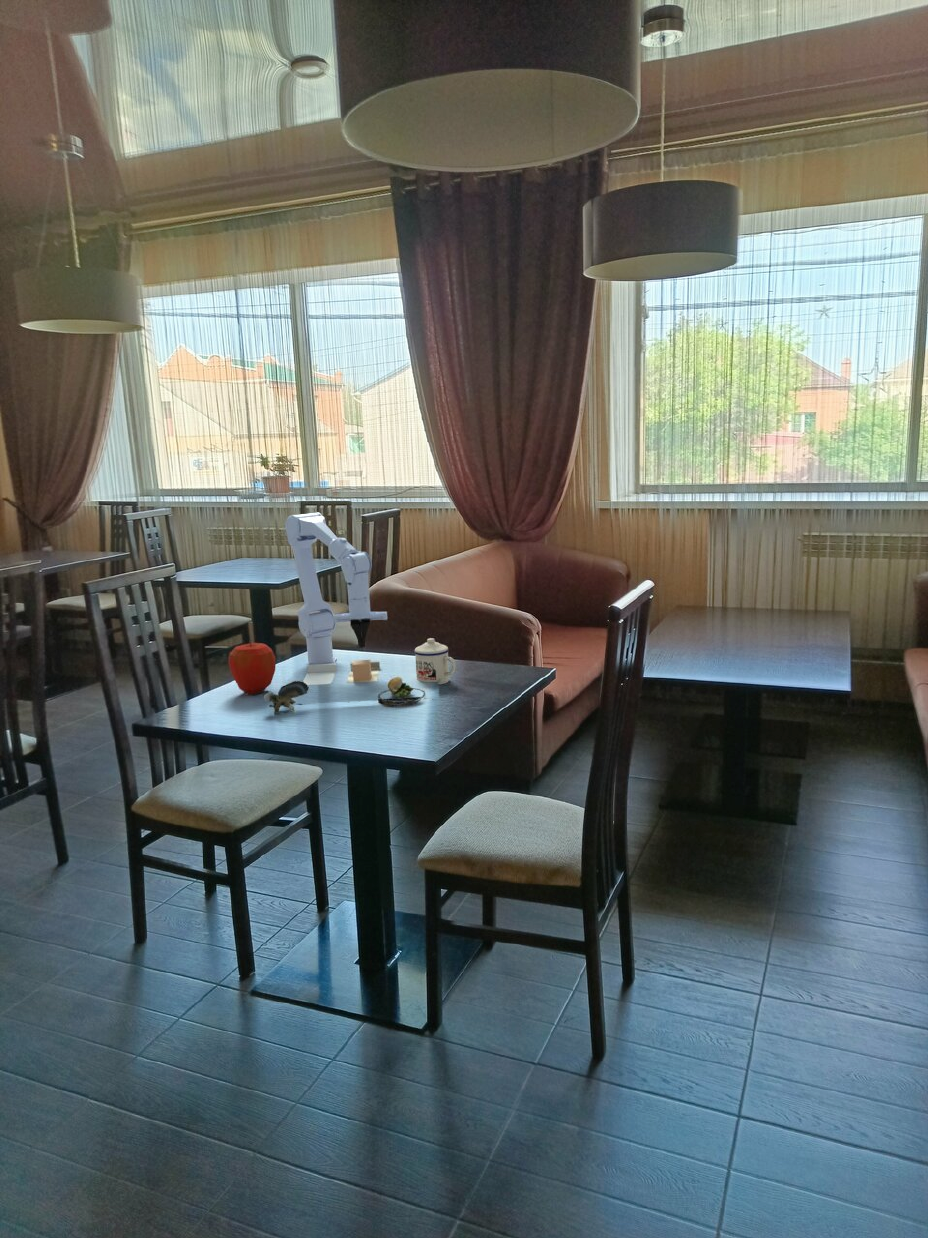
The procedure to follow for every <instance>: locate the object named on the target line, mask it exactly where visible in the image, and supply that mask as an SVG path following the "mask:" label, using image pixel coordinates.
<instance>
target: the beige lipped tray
mask: <svg viewBox="0 0 928 1238" xmlns="http://www.w3.org/2000/svg"><path fill="white" fill-rule="evenodd" d="M352 664H353V661H352V662H350V663H349V665H350V666H349V667H350V672H349V674H348V678H347V681H346V684H353V683H354V684H355V683H356V684H357V683H371V682H372V683H373V682H378V678H379V674H380V670H381V669H380V668H381V665H380V660H371V674H372V676H371V680H367V681H353V668H352Z"/></svg>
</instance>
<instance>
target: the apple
mask: <svg viewBox="0 0 928 1238" xmlns="http://www.w3.org/2000/svg"><path fill="white" fill-rule="evenodd" d="M248 642H249V643H245V644H241V645H237V646H235V647H234V648H233V649H232V650H231V651H230V653H229V655H228V656H229V657H228V660H227V661H228V662H227V663H228V666H229V669H230V673H231V675H232V678H233V680H234V682H235V683H236V685H237V686H238V689H239V690H241V691H242V692H243V693H244V694H246V695H252V696H253V695H258V694H260V693H262V692H264V691H265V690H266V689H267V688H268V687H269V686H270V685H271V684H272V681H273V678H274V674H275V672H276V665H277V664H276V663H277V662H276V661H277V660H276V659H277V658H276V656H275V654H274V653H275V652H274V651H273V650H272V648H270V646H268V645H267V644H265V643H262V642H261V643H259V642H251V640H249V641H248Z"/></svg>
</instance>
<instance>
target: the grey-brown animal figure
mask: <svg viewBox="0 0 928 1238" xmlns="http://www.w3.org/2000/svg"><path fill="white" fill-rule="evenodd" d="M309 689H310V688H309V685H307V684H306V683H304V682H303V681H301V680H294V681H293V680H292V682H289V683H286V684H285V685H282V686H281V687H280V689H279V690H278V693H277V694H275V693H273V692H271V691H270V692H267V693H265V694H264V695H263V700H265V702H267V703H272V704H273V705H272V704H269V705H268V707H270V708H273V710H274V712H273V715H274V716H276V715H278V713H279V711H280V708H281V707H283V708H287V709H289V710H291V711H293V712H295V711H296V710H295V707H294V705H293V704H297V702H296V701H295V700H294V699H295V698H298V697H300V696H305V695H306V694H308V691H309ZM298 705H299V706H302V705H303V704H302V703H298Z"/></svg>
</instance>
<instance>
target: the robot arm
mask: <svg viewBox="0 0 928 1238" xmlns="http://www.w3.org/2000/svg"><path fill="white" fill-rule="evenodd" d="M326 523H327V522H326V518H325V516H323V514H322V513H320V512H318V511H316V512H312V513H311V512H310V513H302V514H290V515H289V516H287V519H286V521H285V525H284V528H285V532H286V537H287V542H288V545H290V547H291V550H292V554H293V559H294V562H295V566H296V572H297V575H298V579H299V584H300V589H301V593H302V594H301V595H302V598H303V602H304V604H303V605H302V607H300V609H299V610H298V611H297V616H298V628H299V631H300V633H301V634H302V635H303V637H305V640H306V649H307V650H306V652H307V665H312V664H330V663H336V662H337V657H334V655H333V641H332V634H334V631H335V629H336V627H337V623H344V622H350V627H351V630H353V632H354V635H355V637H356V639H357V642H358V646H359V648H360V649H362V648H365V647H366V638H367V635H368V630H369V627H370V625H371V622H372V621H379V620H380V621H381V620H383V621H387V620H388V611H371V600H370V585H369V574H368V573H370V572H371V571H372V567H373V566H372V565H373V564H372V562H373V561H372V560H371V556H370V555H369V554H368V552H366V551H361V550H359V551H358V549H356V548H355V547H354V546H353V545H352V544H351V543H350V542H348V539H346V538H345V537H337V535H335V533H334V532H333V531H332V530H331V529H330V527H329V526H328V525H327V524H326ZM318 540H319V541H320V542H322V543H323V544H324V545H325V546H326V547H328V552H329V553H328V554H330V556H331V557H333V558H334V559H335V560H336V562H337V563H339V564H340V567H341V572H342V573H343V575H344V576H343V577H344V580H345V582H346V588H347V596H348V597H347V599H348V602H347V603H348V612H346V613H338V614H337V613H336V614H334V611H333V609H332V605H331V604H329V603H328V602H326V601H325V600H323V595H322V592H321V588H320V582H319V579H318V574H317V570H316V566H315V560H314V556H313V553H312V546H313V544H314V543H316V542H317V541H318ZM312 612H313V613H312Z"/></svg>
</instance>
